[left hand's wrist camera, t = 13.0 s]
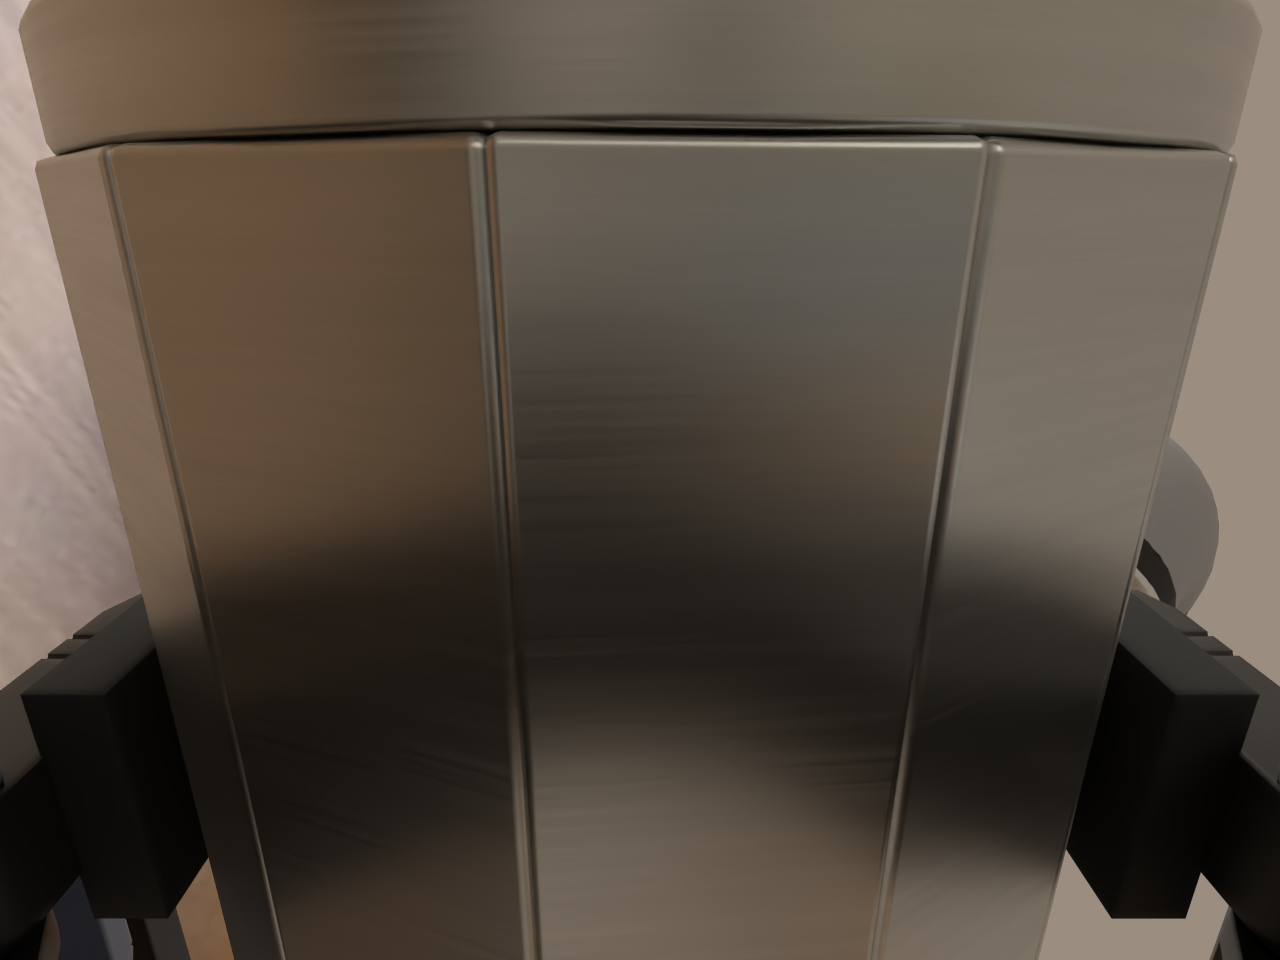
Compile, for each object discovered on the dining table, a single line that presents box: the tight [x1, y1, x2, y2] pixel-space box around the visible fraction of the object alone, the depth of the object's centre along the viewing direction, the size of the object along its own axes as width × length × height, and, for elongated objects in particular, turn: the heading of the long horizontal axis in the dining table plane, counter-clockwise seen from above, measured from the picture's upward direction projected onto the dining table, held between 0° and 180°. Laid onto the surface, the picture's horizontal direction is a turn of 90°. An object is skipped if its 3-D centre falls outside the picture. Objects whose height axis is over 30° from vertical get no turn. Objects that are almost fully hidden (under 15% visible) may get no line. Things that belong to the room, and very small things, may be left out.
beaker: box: [19, 0, 1262, 960], centre depth 9 cm, size 9×10×12 cm
